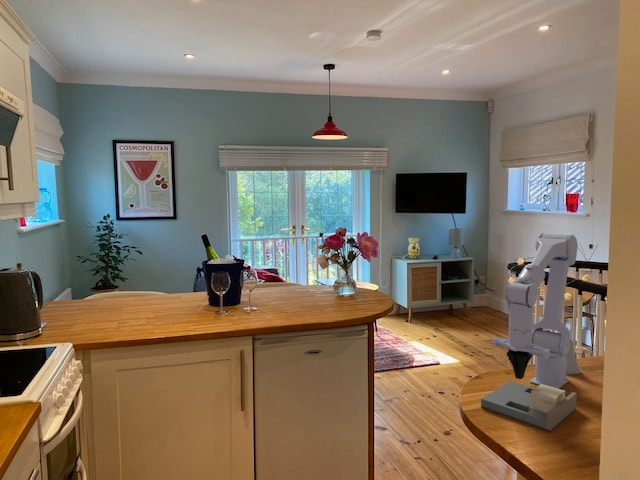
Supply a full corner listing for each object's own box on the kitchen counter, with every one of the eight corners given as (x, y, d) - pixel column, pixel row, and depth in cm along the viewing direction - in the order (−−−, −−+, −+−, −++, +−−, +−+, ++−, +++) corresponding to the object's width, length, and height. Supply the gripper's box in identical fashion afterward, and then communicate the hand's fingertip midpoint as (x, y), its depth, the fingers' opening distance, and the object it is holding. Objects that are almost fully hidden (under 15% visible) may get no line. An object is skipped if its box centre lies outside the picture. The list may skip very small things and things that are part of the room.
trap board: (509, 389, 138) (509, 374, 137) (576, 409, 125) (576, 393, 124) (481, 407, 127) (481, 391, 127) (550, 432, 114) (550, 414, 113)
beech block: (540, 398, 126) (541, 383, 126) (564, 405, 122) (565, 390, 121) (530, 405, 122) (531, 391, 122) (554, 413, 118) (555, 398, 117)
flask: (583, 376, 145) (584, 344, 144) (557, 374, 147) (558, 343, 146) (576, 367, 152) (577, 336, 151) (552, 365, 154) (553, 335, 153)
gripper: (487, 325, 128) (486, 374, 130) (541, 337, 117) (540, 390, 119) (499, 320, 133) (499, 366, 134) (553, 331, 122) (552, 381, 124)
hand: (519, 377), depth 127 cm, fingers closed
